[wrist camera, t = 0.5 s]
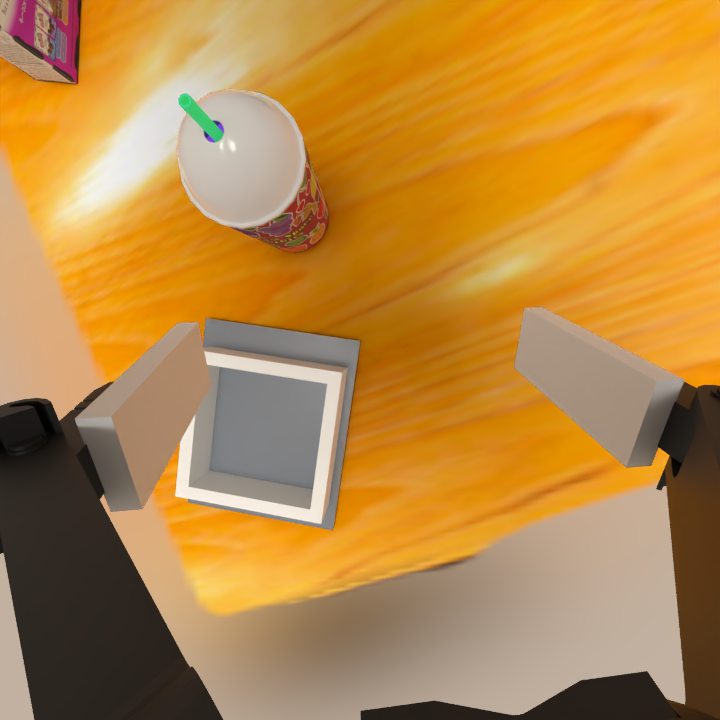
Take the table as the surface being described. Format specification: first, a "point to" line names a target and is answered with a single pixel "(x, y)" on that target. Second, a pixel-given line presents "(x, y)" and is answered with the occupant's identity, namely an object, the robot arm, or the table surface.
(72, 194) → the table surface
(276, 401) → the board
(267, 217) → the smoothie
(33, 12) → the candy bar box
